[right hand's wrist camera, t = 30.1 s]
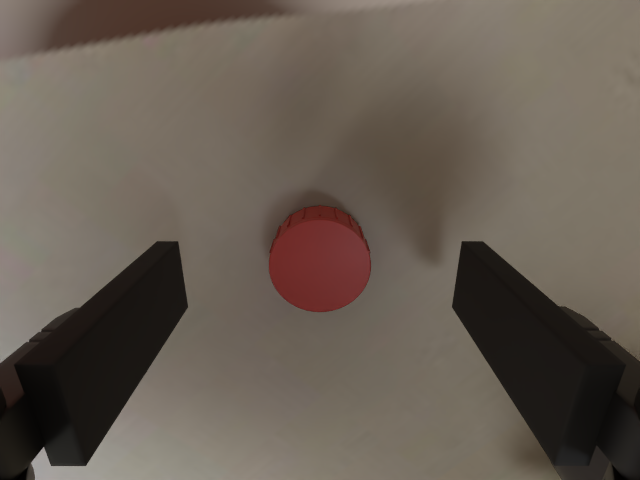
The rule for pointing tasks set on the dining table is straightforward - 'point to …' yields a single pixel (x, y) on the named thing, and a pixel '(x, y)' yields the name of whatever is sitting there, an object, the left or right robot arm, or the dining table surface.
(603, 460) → the bottle
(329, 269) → the cap
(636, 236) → the dining table surface
